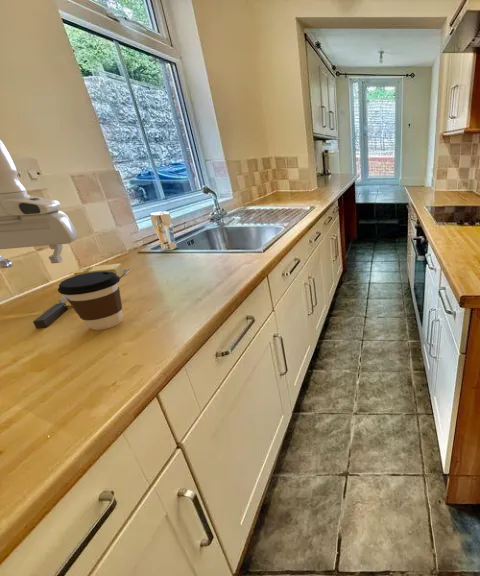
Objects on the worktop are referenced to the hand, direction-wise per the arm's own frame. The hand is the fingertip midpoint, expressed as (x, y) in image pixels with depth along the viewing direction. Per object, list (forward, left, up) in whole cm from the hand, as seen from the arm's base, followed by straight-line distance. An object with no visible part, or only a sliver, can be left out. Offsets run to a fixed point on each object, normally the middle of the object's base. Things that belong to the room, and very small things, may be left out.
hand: (32, 264), depth 76 cm
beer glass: (+13, +59, -14) cm, 62 cm away
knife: (0, +4, -14) cm, 15 cm away
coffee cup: (+14, -9, -14) cm, 22 cm away
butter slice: (-2, +23, -13) cm, 26 cm away
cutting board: (+1, +23, -14) cm, 27 cm away
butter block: (+4, +23, -13) cm, 26 cm away
